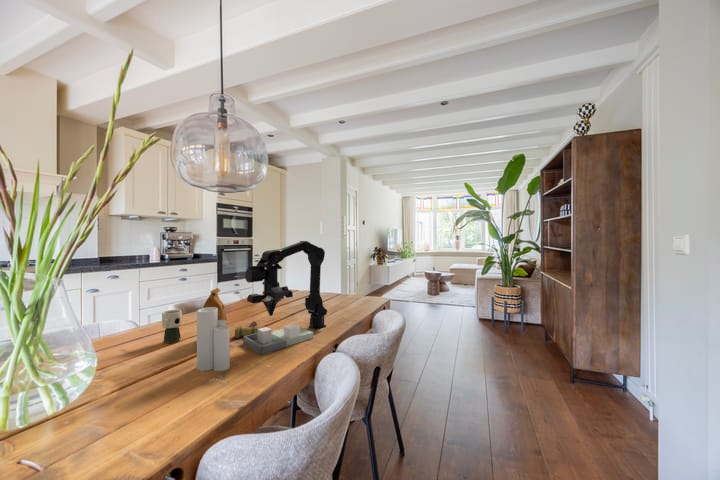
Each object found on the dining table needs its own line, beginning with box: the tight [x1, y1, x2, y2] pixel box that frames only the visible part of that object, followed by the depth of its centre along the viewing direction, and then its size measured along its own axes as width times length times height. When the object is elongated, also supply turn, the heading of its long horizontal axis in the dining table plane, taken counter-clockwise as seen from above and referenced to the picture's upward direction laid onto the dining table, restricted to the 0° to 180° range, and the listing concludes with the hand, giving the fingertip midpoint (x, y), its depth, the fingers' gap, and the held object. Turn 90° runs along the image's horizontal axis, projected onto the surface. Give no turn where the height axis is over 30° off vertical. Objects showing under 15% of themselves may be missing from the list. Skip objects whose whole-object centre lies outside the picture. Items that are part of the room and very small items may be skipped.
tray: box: [242, 333, 288, 356], centre depth 121 cm, size 11×17×3 cm, turn 44°
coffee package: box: [202, 287, 227, 324], centre depth 128 cm, size 10×12×22 cm
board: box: [272, 326, 314, 347], centre depth 130 cm, size 14×14×2 cm
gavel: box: [234, 321, 260, 339], centre depth 141 cm, size 21×5×10 cm
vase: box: [196, 307, 231, 372], centre depth 102 cm, size 11×7×20 cm, turn 89°
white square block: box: [258, 326, 272, 343], centre depth 125 cm, size 5×5×4 cm
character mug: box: [161, 309, 183, 344], centre depth 126 cm, size 11×7×13 cm, turn 9°
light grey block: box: [283, 323, 301, 339], centre depth 126 cm, size 5×5×4 cm
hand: (270, 315), depth 127 cm, fingers closed
